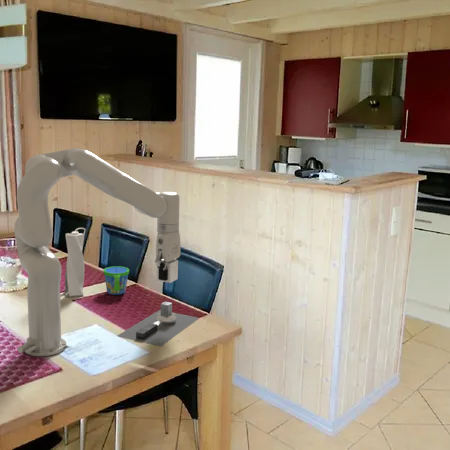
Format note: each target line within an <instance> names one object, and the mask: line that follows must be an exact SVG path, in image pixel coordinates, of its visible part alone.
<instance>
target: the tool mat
mask: <svg viewBox="0 0 450 450" xmlns="http://www.w3.org/2000/svg"><path fill="white" fill-rule="evenodd" d="M160 312H161V309H159V310H157V311H156V312H154V313H152V314H151V315H149V316H148V317H145V318H144V319H142V320H140V321H139V322H137V323H136V324H134V325H132V326H131V327H129V328H127V329H126V330H124V331H123V332H121V333H120V334H118V335H117V337H119V338H123V339H126V340H127V339H128V340H131V341H136V342H140V343H145V344H148V345H153V346H157V347H163V346H164V345H166V344H167V343H168V342H169V341H170V340H172V339H174V337H176V336H177V335H179V334H180V333H181V332H182V331H184V330H186V329H187V328H188V327H190V326H191V325H192V324H194V323H196V321H198V320H199V319H200V317H197V316H192V315H187V314H182V313H178V312H177V313H176V312H173V311H172V313H175V314H176V323H174V324H172V325H164V326H162V327H161V328H159V329H158V330H157V331H156V332H154V333H153V334H151V335H150V336H148V337H147V338H145V339H144V340H141V339H137V338H136V332H137V331H139V330H140V329H142V328H143V327H145V326H146V325H148V324H150V323H155V322H156V317H157V314H158V313H160Z"/></svg>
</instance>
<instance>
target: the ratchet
mask: <svg viewBox="0 0 450 450" xmlns="http://www.w3.org/2000/svg"><path fill="white" fill-rule="evenodd" d="M160 310H161V312H160V313H158V314H157V317H156V322H155V323H150V324H148V325H146V326H145V327H143V328H142V329H140V330H139V331H137V332H136V338H137V339H141V340H144V339H145V338H147V337H148V336H150V335H151V334H153V333H154V332H156V331H157V330H158V329H159V328H161V327H162V326H164V325H172V324H174V323H176V314H175V313H176V312H173V302H169V301H164V302H162V303H160ZM172 312H173V313H172Z"/></svg>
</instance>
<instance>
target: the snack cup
mask: <svg viewBox="0 0 450 450" xmlns="http://www.w3.org/2000/svg"><path fill="white" fill-rule="evenodd" d="M129 274H130V269H129V268H128V267H125V266H121V265H119V266H117V265H115V266H109V267H105V268H104V269H103V275H104V281H105V286H106V292H107V294H108V295H112V296H120V295H123V294H125V293H126V289H127V284H128V278H129Z"/></svg>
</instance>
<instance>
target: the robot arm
mask: <svg viewBox="0 0 450 450" xmlns="http://www.w3.org/2000/svg"><path fill="white" fill-rule="evenodd" d="M24 170H25V171H24V172H25V174H24V175H23V176H22V178H21V180H20V181H19V183H18V187H17V191H16V203H17V211H18V217H17V218H16V220H15V223H14V227H13V228H14V230H13V231H14V237H15V243H16V249H17V254H18V258H19V259H18V260H19V263H20V265H21V268H22V269H23V270H24V271H25V273H26V274H27V295H26V297H27V299H26V300H27V313H28V314H27V317H28V320H27V321H28V322H27V323H28V337H27V338H26V342H25V343H24V344H22V345H20V346H18V347H17V352H18V353H20V354H22V353H24V352H25V354H27V355H28V356H32V357H48V356H49V357H51V356H54V355H57V354H59V353H62V352H63V351H64V350H65V349H66V348H67V341H66V340H65V339H63V337H62V324H61V323H62V322H61V321H62V320H61V318H62V317H61V279H62V264H61V261H60V260H59V258H58V256H57V255H56V254H54V252H52V251H51V250H50V247H49V244H50V243H51V242H52V239H53V237H54V236H53V235H54V231H53V225H52V221H51V220H52V219H51V215H50V209H49V201H48V200H49V198H48V197H49V194H50V191H51V189H52V188H53V187H54V186H55V185H56V184H57V183H59V181H60V180H61V178H66V177H69V176H76V177H77V178H79V179H81V180H83V181H85V182H87V184H90V185H91V186H93V187H95V188H97V189H98V190H100V191H101V192H102V193H105V194H106V195H108V196H110V197H113V198H114V199H117V200H120V201H122V202H124V203H126V204H129V205H131V206H132V207H134V209H135V210H136V211H137V212H138V213H140V214H142V215H145V216H148V217H150V218H151V219H152V218H153V219H156V226H157V227H156V233H157V235H156V244H155V260H154V263H155V265H156V267H157V266H158V269H159V273H158V279H159V280H164V281H166V280H167V269H166V267H167V262H170V261H172V260H178V259H179V258H180V257H181V249H182V248H181V235H180V195H179V193H178V192H175V191H161V192H156V191H154V190H153V189H151V188H149V187H148V186H146V185H144V184H142V183H140V182H139V181H137V180H135V179H134V178H132V177H131V176H129V175H128V174H126V173H124V172H123V171H121V170H120V169H118V168H116V167H115V166H113V165H112V164H110V163H108V162H107V161H105V160H104V159H102V158H100V157H99V156H98V155H96V154H95V153H92V152H91V151H89V150H87V149H81V148H68V149H63V150H58V151H52V152H47V153H46V152H45V153H42V154H41V153H40V154H35V155H34V156H32V157H30V158H29V159H28V160H27V161H26V163H25V167H24ZM162 259H164V260H162ZM161 262H164V265H163V264H162V263H161Z"/></svg>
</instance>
